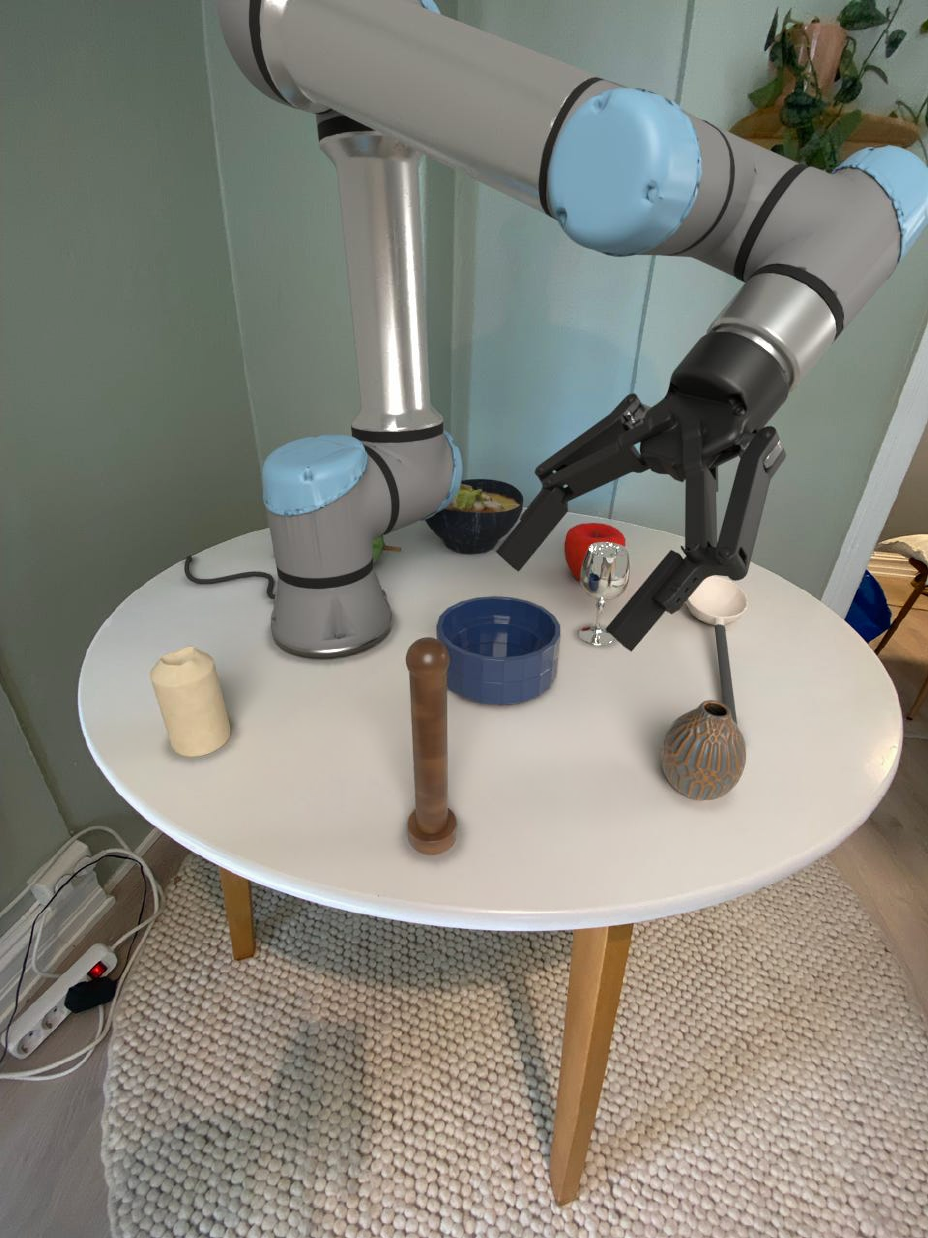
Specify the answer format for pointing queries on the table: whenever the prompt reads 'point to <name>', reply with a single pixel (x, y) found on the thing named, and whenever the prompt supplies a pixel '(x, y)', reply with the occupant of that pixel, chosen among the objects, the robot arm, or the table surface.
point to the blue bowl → (499, 649)
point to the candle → (191, 701)
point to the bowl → (478, 516)
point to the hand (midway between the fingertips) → (555, 597)
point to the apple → (587, 542)
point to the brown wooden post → (430, 748)
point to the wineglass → (603, 583)
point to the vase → (704, 752)
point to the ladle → (720, 622)
